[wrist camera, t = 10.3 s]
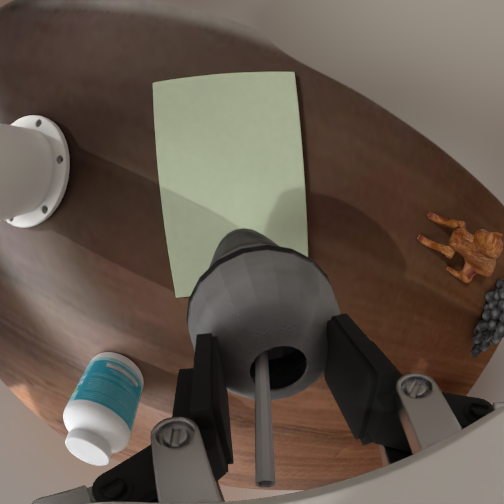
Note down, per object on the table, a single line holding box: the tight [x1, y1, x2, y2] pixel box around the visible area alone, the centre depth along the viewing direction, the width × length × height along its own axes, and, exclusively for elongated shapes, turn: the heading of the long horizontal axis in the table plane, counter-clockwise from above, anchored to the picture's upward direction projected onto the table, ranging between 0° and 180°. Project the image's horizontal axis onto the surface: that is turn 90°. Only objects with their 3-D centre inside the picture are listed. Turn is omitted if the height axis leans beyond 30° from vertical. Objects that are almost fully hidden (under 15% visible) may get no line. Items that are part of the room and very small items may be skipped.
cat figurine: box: [417, 211, 504, 283], centre depth 26 cm, size 18×7×14 cm, turn 64°
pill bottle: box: [63, 352, 144, 466], centre depth 25 cm, size 8×7×14 cm
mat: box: [153, 72, 308, 298], centre depth 27 cm, size 14×22×1 cm, turn 5°
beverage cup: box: [187, 228, 340, 487], centre depth 15 cm, size 7×7×20 cm
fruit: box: [471, 279, 504, 357], centre depth 33 cm, size 9×8×15 cm
